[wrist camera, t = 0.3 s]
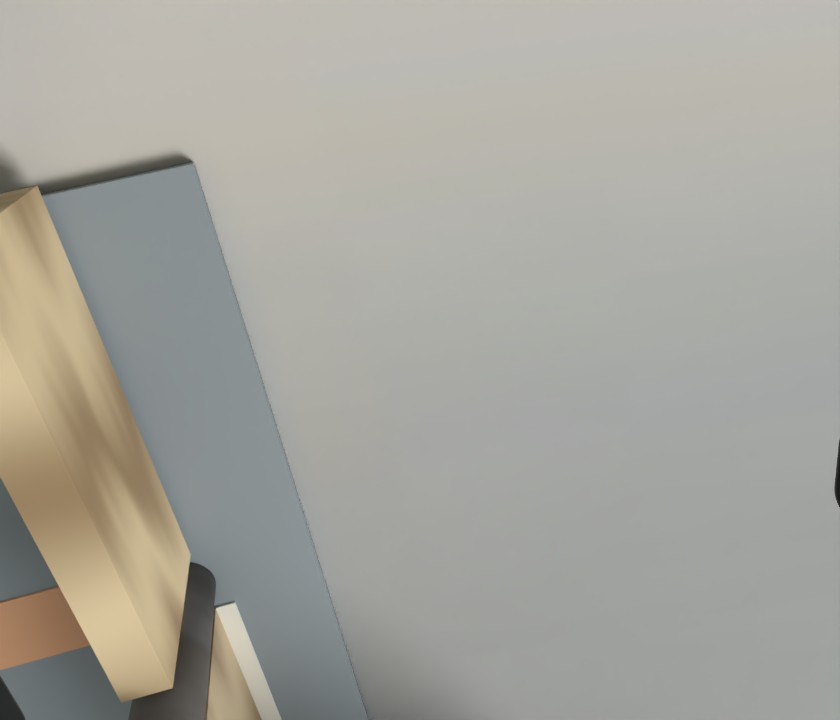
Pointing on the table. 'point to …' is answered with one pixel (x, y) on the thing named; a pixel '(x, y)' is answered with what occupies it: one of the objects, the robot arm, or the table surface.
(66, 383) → the fence panel
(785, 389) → the table surface
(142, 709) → the fence base
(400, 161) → the table surface
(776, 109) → the table surface
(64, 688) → the card
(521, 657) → the table surface
